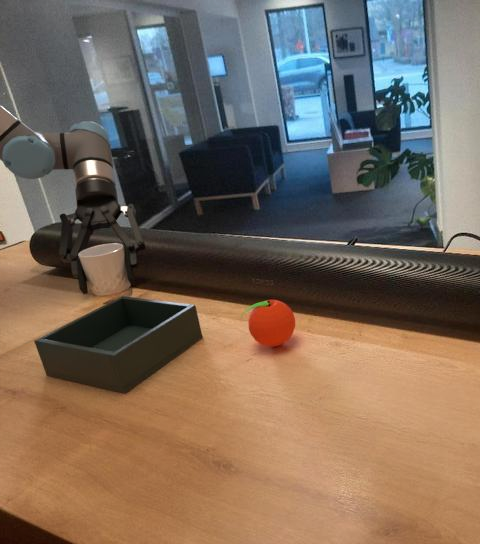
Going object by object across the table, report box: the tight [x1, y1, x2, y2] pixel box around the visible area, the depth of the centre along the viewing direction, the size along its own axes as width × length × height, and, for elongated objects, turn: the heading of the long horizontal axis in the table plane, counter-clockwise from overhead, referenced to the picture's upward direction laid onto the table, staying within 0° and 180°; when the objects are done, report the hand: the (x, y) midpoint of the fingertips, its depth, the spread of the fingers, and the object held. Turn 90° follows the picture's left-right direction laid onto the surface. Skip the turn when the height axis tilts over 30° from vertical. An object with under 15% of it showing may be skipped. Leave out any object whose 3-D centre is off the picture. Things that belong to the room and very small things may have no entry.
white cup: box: [78, 242, 133, 305], centre depth 96 cm, size 8×8×10 cm
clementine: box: [239, 299, 296, 348], centre depth 74 cm, size 8×7×7 cm
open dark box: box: [33, 296, 204, 394], centre depth 74 cm, size 16×16×6 cm
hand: (108, 286), depth 94 cm, fingers closed on white cup, 8 cm apart
